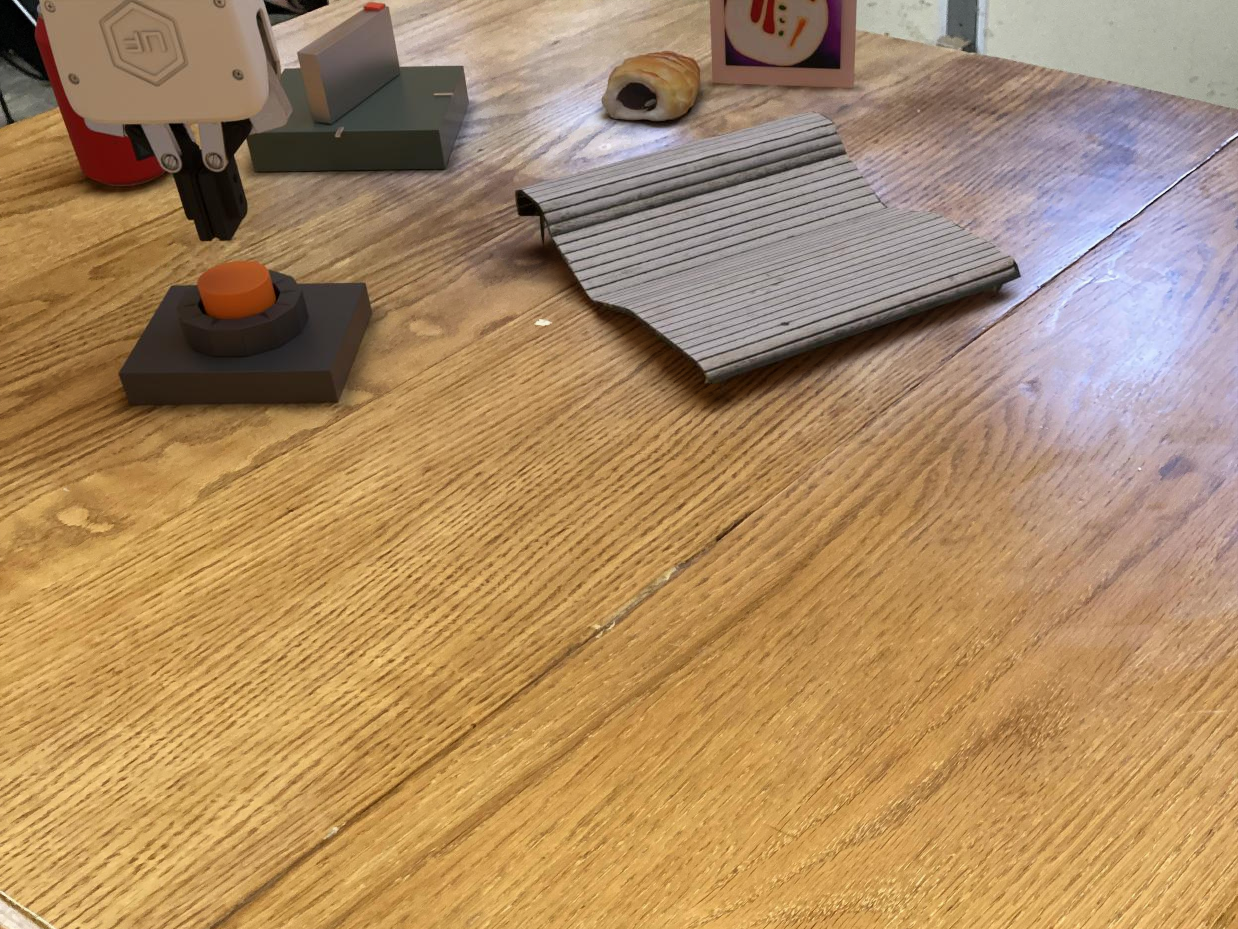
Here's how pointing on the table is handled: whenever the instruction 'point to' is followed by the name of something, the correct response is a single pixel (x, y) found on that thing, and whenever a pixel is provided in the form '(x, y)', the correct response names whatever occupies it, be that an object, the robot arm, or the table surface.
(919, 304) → the mat
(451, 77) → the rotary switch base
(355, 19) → the grey rectangular slab
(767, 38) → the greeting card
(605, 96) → the pastry
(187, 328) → the button box
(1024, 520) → the table surface
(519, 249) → the table surface
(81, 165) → the beverage can
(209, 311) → the button
